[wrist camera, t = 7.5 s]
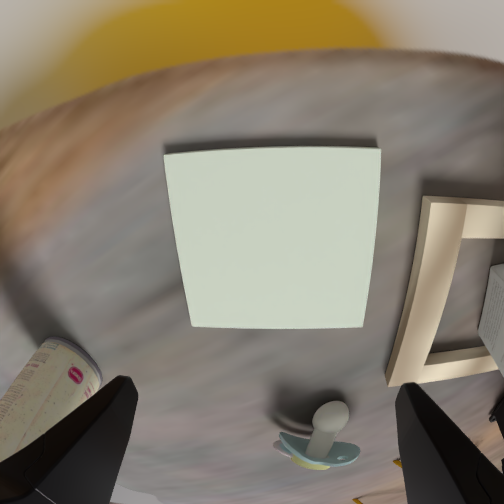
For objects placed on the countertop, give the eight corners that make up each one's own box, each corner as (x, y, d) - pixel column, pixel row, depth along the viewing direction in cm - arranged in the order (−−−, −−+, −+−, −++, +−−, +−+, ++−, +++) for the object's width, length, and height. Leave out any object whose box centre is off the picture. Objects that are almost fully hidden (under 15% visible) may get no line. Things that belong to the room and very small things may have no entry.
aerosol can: (80, 393, 28) (5, 546, 10) (33, 347, 25) (-63, 497, 8) (115, 380, 25) (32, 570, 8) (61, 326, 23) (-58, 514, 5)
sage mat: (378, 147, 15) (381, 149, 14) (361, 322, 20) (362, 326, 19) (166, 153, 16) (163, 155, 16) (193, 321, 21) (192, 326, 21)
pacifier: (262, 441, 26) (276, 469, 20) (283, 380, 27) (304, 397, 21) (331, 452, 26) (358, 477, 20) (353, 396, 28) (385, 411, 22)
